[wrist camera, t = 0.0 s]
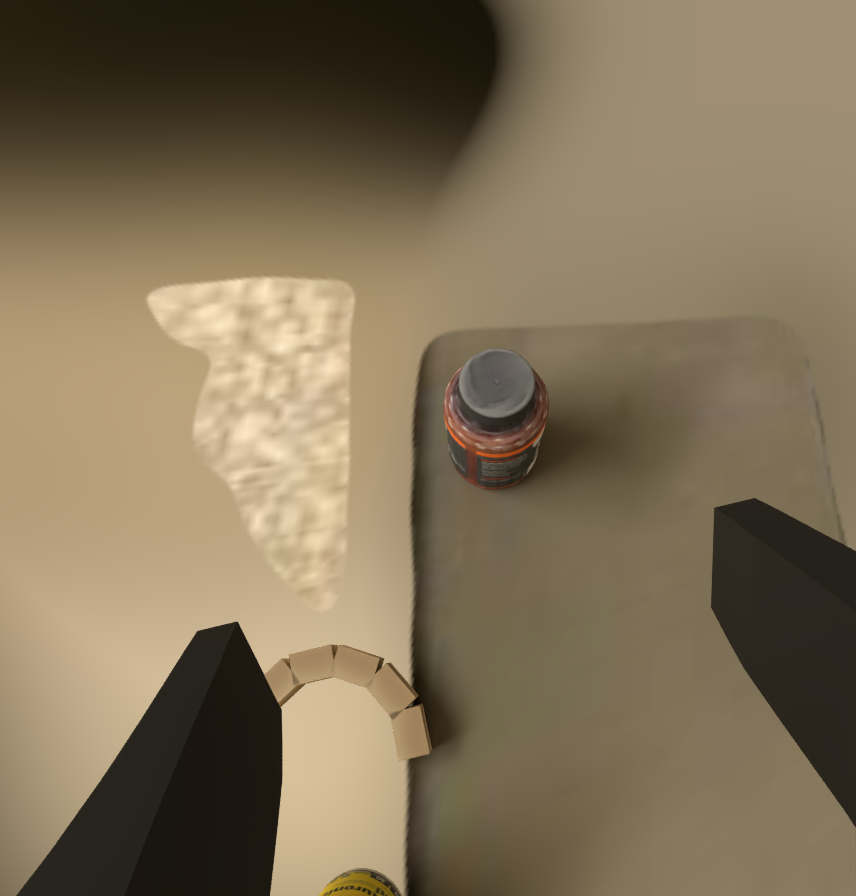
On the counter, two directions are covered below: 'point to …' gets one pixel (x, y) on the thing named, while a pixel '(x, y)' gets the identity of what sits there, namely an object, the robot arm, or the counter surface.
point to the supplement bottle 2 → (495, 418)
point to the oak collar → (364, 673)
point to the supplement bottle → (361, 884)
